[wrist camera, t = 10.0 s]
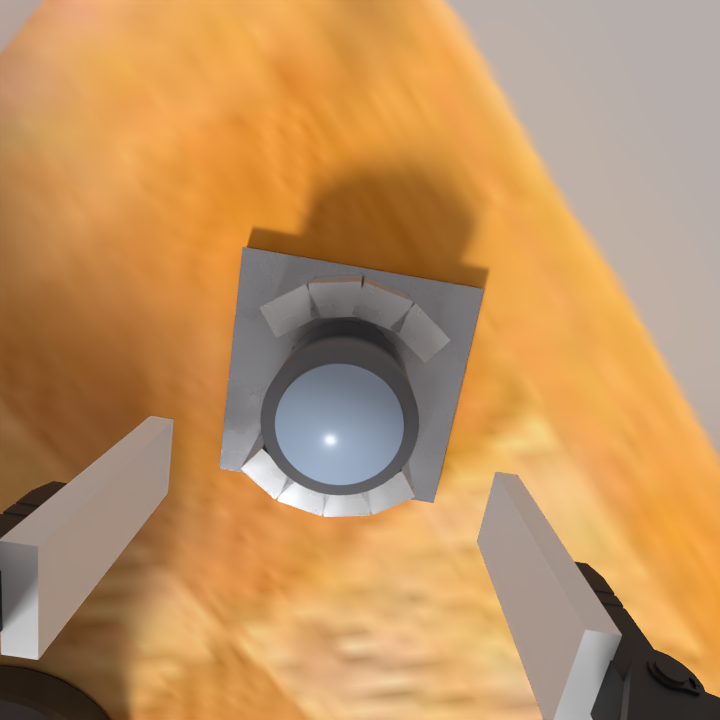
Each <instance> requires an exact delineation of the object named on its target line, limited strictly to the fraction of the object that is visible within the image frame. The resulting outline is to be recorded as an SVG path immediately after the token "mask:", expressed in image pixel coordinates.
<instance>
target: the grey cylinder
mask: <svg viewBox="0 0 720 720" xmlns="http://www.w3.org/2000/svg"><path fill="white" fill-rule="evenodd" d="M260 423H261V432H262V437H263V441H264V444H265V446H266V449H267V451H268V453H269V455H270V457H271V458H272V460H273V461H274V462H275V464H276V465H277V466H278V468H279V469H280V470H281V471H282V472H283V473H284V474H285V475H287V476H288V477H289V478H290V479H291V480H293V481H294V482H296V483H298V484H299V485H301V486H303V487H305V488H307V489H310V490H313V491H315V492H318V493H323V494H328V495H353V494H359V493H363V492H367V491H369V490H372V489H374V488H377V487H379V486H380V485H382V484H384V483H386V482H387V481H388V480H390V479H391V478H393V477H394V476H395V475H396V474H397V473H398V472H399V471H400V470H401V469H402V467H403V466H404V465H405V464H406V462H407V461H408V459H409V458H410V456H411V454H412V452H413V450H414V447H415V445H416V441H417V438H418V431H419V413H418V407H417V403H416V400H415V397H414V393H413V390H412V387H411V384H410V381H409V378H408V375H407V372H406V369H405V365H404V363H403V360H402V358H401V356H400V354H399V352H398V351H397V349H396V348H395V347H394V345H393V344H392V343H391V342H390V341H389V340H388V339H387V338H386V337H385V336H383V335H382V334H380V333H379V332H377V331H375V330H374V329H372V328H369V327H367V326H364V325H360V324H356V323H334V324H329V325H325V326H322V327H320V328H318V329H315V330H314V331H312V332H310V333H309V334H307V335H306V336H305V337H304V338H302V339H301V340H300V341H299V342H298V344H297V345H296V346H295V347H294V349H293V350H292V352H291V353H290V355H289V356H288V358H287V359H286V361H285V362H284V364H283V365H282V367H281V368H280V370H279V372H278V373H277V375H276V376H275V378H274V379H273V381H272V382H271V384H270V386H269V388H268V390H267V392H266V394H265V397H264V400H263V403H262V408H261V418H260Z"/></svg>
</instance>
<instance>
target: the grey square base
mask: <svg viewBox="0 0 720 720" xmlns="http://www.w3.org/2000/svg"><path fill="white" fill-rule="evenodd" d="M483 292H484V289H482V288H478V287H473V286H467V285H461V284H455V283H450V282H444V281H438V280H433V279H427V278H421V277H416V276H410V275H404V274H399V273H393V272H387V271H382V270H376V269H370V268H364V267H359V266H353V265H347V264H342V263H336V262H330V261H325V260H319V259H313V258H308V257H302V256H296V255H290V254H285V253H279V252H273V251H268V250H262V249H256V248H251V247H243V249H242V259H241V268H240V278H239V287H238V297H237V306H236V315H235V325H234V334H233V344H232V353H231V363H230V372H229V381H228V391H227V400H226V410H225V419H224V429H223V438H222V447H221V457H220V466H219V469H225V470H232V471H238V472H244V473H246V474H247V475H248V476H249V477H250V478H251V479H252V480H254V481H255V482H256V483H257V484H258V485H259V486H260V487H262V488H263V489H264V490H265V491H266V492H267V493H268V494H269V495H271V496H272V497H273V498H274V499H276V498H277V497H278V496H279V498H278V501H279V502H282V503H285V504H288V505H291V506H293V507H296V508H299V509H302V510H305V511H307V512H310V513H313V514H316V515H319V516H322V513H323V511H324V517H337V516H370V510H371V512H372V514H373V515H374V514H376V513H379V512H381V511H383V510H386V509H388V508H390V507H393V506H395V505H397V504H400V503H402V502H404V501H407V500H409V499H412V500H419V501H425V502H431V503H434V499H435V495H436V490H437V486H438V482H439V478H440V473H441V469H442V465H443V461H444V457H445V452H446V448H447V444H448V440H449V436H450V431H451V427H452V423H453V419H454V414H455V410H456V406H457V402H458V398H459V393H460V389H461V385H462V381H463V377H464V372H465V368H466V364H467V360H468V355H469V351H470V347H471V343H472V339H473V334H474V330H475V326H476V322H477V317H478V313H479V309H480V305H481V301H482V296H483ZM334 323H356V324H360V325H364V326H367V327H369V328H372V329H374V330H375V331H377V332H379V333H380V334H382V335H383V336H385V337H386V338H387V339H388V340H389V341H390V342H391V343H392V344H393V345H394V347H395V348H396V349H397V351H398V352H399V354H400V356H401V358H402V360H403V363H404V365H405V369H406V372H407V375H408V378H409V381H410V384H411V387H412V390H413V393H414V397H415V400H416V403H417V407H418V413H419V431H418V438H417V441H416V445H415V447H414V450H413V452H412V454H411V456H410V458H409V459H408V461H407V462H406V464H405V465H404V466H403V467H402V469H401V470H400V471H399V472H398V473H397V474H396V475H395V476H394V477H393V478H391V479H390V480H388V481H387V482H386V483H384V484H382V485H380V486H379V487H377V488H374V489H372V490H369V491H367V492H363V493H359V494H353V495H328V494H323V493H318V492H315V491H313V490H310V489H307V488H305V487H303V486H301V485H299V484H298V483H296V482H294V481H293V480H291V479H290V478H289V477H288V476H287V475H285V474H284V473H283V472H282V471H281V470H280V469H279V468H278V466H277V465H276V464H275V462H274V461H273V460H272V458H271V457H270V455H269V453H268V451H267V449H266V446H265V444H264V441H263V437H262V432H261V423H260V418H261V408H262V403H263V400H264V397H265V394H266V392H267V390H268V388H269V386H270V384H271V382H272V381H273V379H274V378H275V376H276V375H277V373H278V372H279V370H280V368H281V367H282V365H283V364H284V362H285V361H286V359H287V358H288V356H289V355H290V353H291V352H292V350H293V349H294V347H295V346H296V345H297V344H298V342H299V341H300V340H301V339H302V338H304V337H305V336H306V335H307V334H309V333H310V332H312V331H314V330H315V329H318V328H320V327H322V326H325V325H329V324H334Z"/></svg>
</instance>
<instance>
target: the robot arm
mask: <svg viewBox="0 0 720 720" xmlns="http://www.w3.org/2000/svg"><path fill="white" fill-rule="evenodd" d="M173 423H174V419H169V418H162V417H156V416H149V417H148V418H147V419H146V420H145V421H143V422H142V423H141V424H140V425H139V426H137V427H136V428H135V429H134V430H132V431H131V432H130V433H129V434H128V435H126V436H125V437H124V438H123V439H121V440H120V441H119V442H118V443H117V444H115V445H114V446H113V447H112V448H110V449H109V450H108V451H107V452H106V453H104V454H103V455H102V456H101V457H99V458H98V459H97V460H96V461H95V462H93V463H92V464H91V465H90V466H88V467H87V468H86V469H85V470H84V471H82V472H81V473H80V474H79V475H77V476H76V477H75V478H74V479H73V480H71V481H70V482H69V483H68V484H67V483H61V482H54V481H53V482H51V483H48V484H46V485H44V486H41V487H39V488H36V489H34V490H32V491H31V492H29V493H28V494H27V495H25V496H24V497H23V498H21V499H20V500H19V501H17V503H16V505H15V504H13V505H12V506H11V507H9V508H8V509H7V510H5V511H4V513H3V515H2V514H0V633H1V655H7V656H14V657H21V658H28V659H35V660H39V658H40V657H41V656H42V654H43V653H44V652H45V651H46V649H47V648H48V647H49V645H50V644H51V643H52V642H53V640H54V639H55V638H56V636H57V635H58V634H59V633H60V631H61V630H62V629H63V627H64V626H65V625H66V624H67V622H68V621H69V620H70V618H71V617H72V616H73V615H74V613H75V612H76V611H77V609H78V608H79V607H80V606H81V604H82V603H83V602H84V600H85V599H86V598H87V597H88V595H89V594H90V593H91V591H92V590H93V589H94V588H95V586H96V585H97V584H98V582H99V581H100V580H101V579H102V577H103V576H104V575H105V573H106V572H107V571H108V570H109V568H110V567H111V566H112V564H113V563H114V562H115V561H116V559H117V558H118V557H119V555H120V554H121V553H122V552H123V550H124V549H125V548H126V546H127V545H128V544H129V543H130V541H131V540H132V539H133V537H134V536H135V535H136V534H137V532H138V531H139V530H140V528H141V527H142V526H143V525H144V523H145V522H146V521H147V519H148V518H149V517H150V516H151V514H152V513H153V512H154V510H155V509H156V508H157V507H158V505H159V504H160V503H161V501H162V500H163V499H164V498H165V496H166V495H167V494H168V487H169V474H170V461H171V448H172V436H173ZM477 543H478V546H479V548H480V551H481V554H482V556H483V559H484V562H485V564H486V567H487V570H488V573H489V575H490V578H491V581H492V583H493V586H494V589H495V591H496V594H497V597H498V599H499V602H500V605H501V607H502V610H503V613H504V615H505V618H506V621H507V623H508V626H509V629H510V631H511V634H512V637H513V640H514V642H515V645H516V648H517V650H518V653H519V656H520V658H521V661H522V664H523V666H524V669H525V672H526V674H527V677H528V680H529V682H530V685H531V688H532V690H533V693H534V696H535V698H536V701H537V704H538V706H539V709H540V712H541V715H542V717H543V720H590V718H591V717H592V719H593V720H720V698H719V697H717V696H714V695H712V694H709V693H707V692H705V690H704V687H703V685H702V684H701V683H700V681H699V680H698V679H697V677H696V676H695V675H694V674H693V673H692V672H691V671H690V670H689V669H687V668H686V667H685V666H684V665H683V664H682V663H680V662H679V661H677V660H675V659H674V658H672V657H670V656H669V655H667V654H664V653H662V652H659V651H657V650H654V649H653V647H652V646H651V644H650V643H649V641H648V640H647V639H646V637H645V636H644V634H643V633H642V632H641V630H640V629H639V627H638V626H637V625H636V623H635V622H634V620H633V619H632V617H631V616H630V615H629V613H628V612H627V610H626V609H623V605H622V603H621V602H620V601H619V599H618V598H617V596H614V592H613V591H612V589H611V588H610V586H609V585H608V584H607V582H606V581H605V579H604V578H603V577H602V576H601V575H600V574H598V573H597V572H596V571H595V570H594V569H593V568H591V567H590V566H589V565H588V564H586V563H580V562H574V561H573V559H572V558H571V556H570V555H569V553H568V552H567V550H566V548H565V547H564V545H563V544H562V542H561V541H560V539H559V538H558V536H557V535H556V533H555V532H554V530H553V529H552V527H551V525H550V524H549V522H548V521H547V519H546V518H545V516H544V515H543V513H542V512H541V510H540V509H539V507H538V506H537V504H536V502H535V501H534V499H533V498H532V496H531V495H530V493H529V492H528V490H527V489H526V487H525V486H524V484H523V483H522V481H521V479H520V478H519V476H518V475H513V474H507V473H501V472H495V476H494V480H493V484H492V487H491V491H490V495H489V498H488V502H487V506H486V510H485V513H484V517H483V521H482V524H481V528H480V532H479V536H478V539H477ZM0 720H108V718H107V717H106V716H105V714H104V713H103V712H102V711H101V710H100V709H99V708H98V707H97V706H96V705H95V704H94V703H93V702H92V701H91V700H90V699H89V698H87V697H86V696H85V695H84V694H82V693H81V692H79V691H78V690H76V689H75V688H73V687H72V686H70V685H68V684H66V683H64V682H62V681H60V680H58V679H56V678H53V677H51V676H48V675H46V674H43V673H39V672H36V671H32V670H28V669H23V668H16V667H5V666H0Z"/></svg>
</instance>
